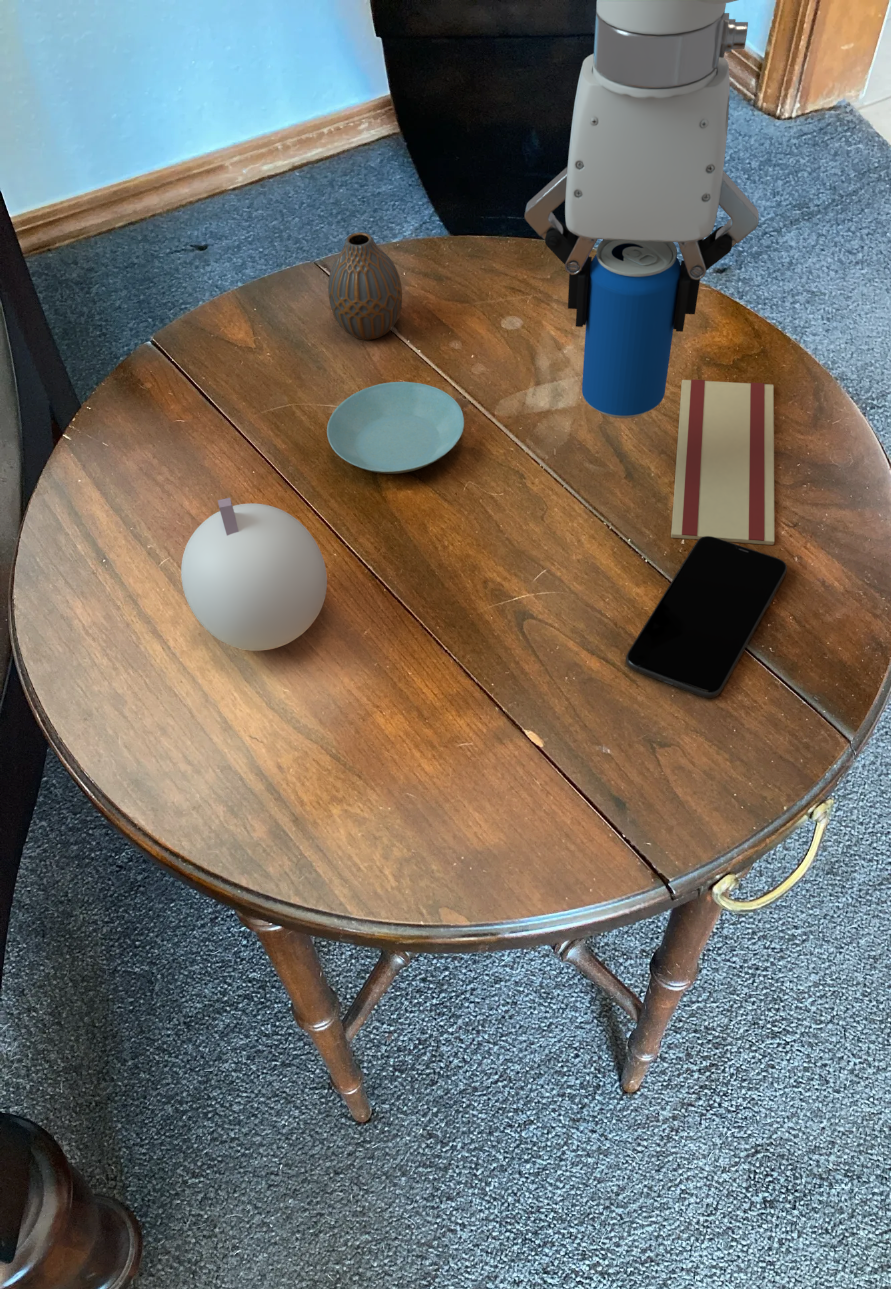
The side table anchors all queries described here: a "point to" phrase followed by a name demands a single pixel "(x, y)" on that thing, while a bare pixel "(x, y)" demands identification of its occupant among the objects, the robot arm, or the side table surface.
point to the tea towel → (725, 462)
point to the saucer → (395, 427)
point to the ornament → (253, 576)
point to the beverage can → (629, 325)
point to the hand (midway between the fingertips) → (630, 316)
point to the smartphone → (707, 616)
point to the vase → (364, 288)
